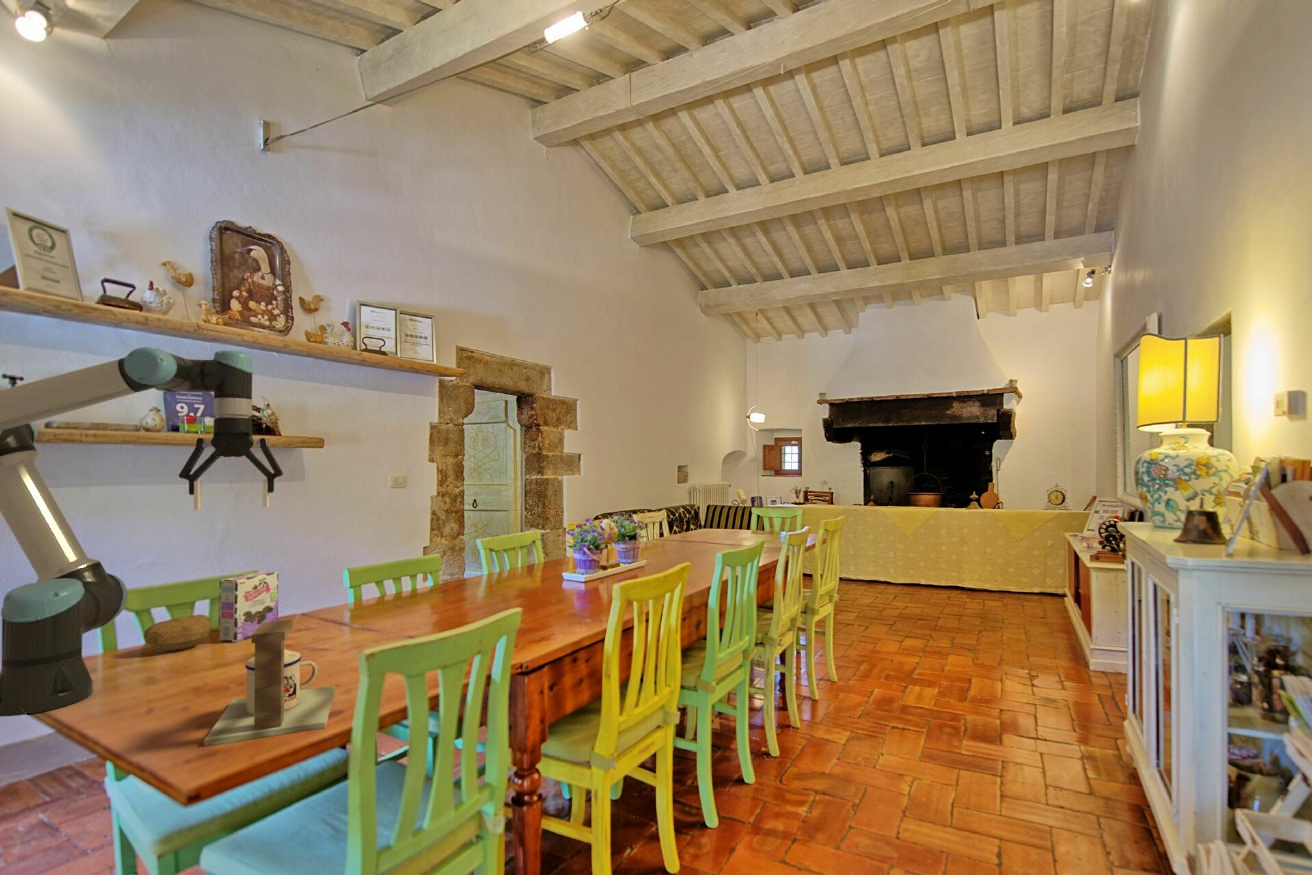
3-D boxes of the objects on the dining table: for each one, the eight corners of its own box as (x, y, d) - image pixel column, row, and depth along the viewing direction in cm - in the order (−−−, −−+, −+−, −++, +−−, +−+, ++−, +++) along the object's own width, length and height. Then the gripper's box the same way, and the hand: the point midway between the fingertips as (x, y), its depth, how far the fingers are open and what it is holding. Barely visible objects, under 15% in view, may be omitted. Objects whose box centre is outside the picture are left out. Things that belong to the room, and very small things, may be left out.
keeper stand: (204, 746, 106) (205, 640, 107) (233, 703, 125) (233, 614, 126) (324, 727, 113) (325, 628, 114) (335, 690, 132) (335, 605, 132)
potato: (138, 652, 160) (139, 620, 160) (204, 640, 171) (205, 609, 171) (148, 660, 154) (149, 626, 154) (216, 646, 164) (217, 615, 165)
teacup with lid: (249, 720, 114) (250, 654, 115) (240, 706, 121) (241, 644, 121) (323, 702, 122) (323, 641, 123) (310, 690, 129) (311, 632, 129)
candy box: (235, 643, 167) (235, 580, 168) (217, 641, 169) (218, 579, 169) (278, 629, 181) (279, 570, 181) (262, 628, 182) (262, 570, 183)
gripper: (295, 419, 158) (295, 504, 157) (174, 417, 148) (173, 509, 148) (291, 417, 151) (290, 506, 150) (163, 415, 142) (161, 511, 141)
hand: (232, 508), depth 149 cm, fingers open, 13 cm apart
